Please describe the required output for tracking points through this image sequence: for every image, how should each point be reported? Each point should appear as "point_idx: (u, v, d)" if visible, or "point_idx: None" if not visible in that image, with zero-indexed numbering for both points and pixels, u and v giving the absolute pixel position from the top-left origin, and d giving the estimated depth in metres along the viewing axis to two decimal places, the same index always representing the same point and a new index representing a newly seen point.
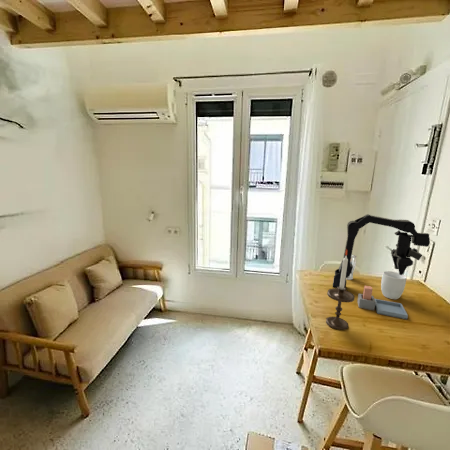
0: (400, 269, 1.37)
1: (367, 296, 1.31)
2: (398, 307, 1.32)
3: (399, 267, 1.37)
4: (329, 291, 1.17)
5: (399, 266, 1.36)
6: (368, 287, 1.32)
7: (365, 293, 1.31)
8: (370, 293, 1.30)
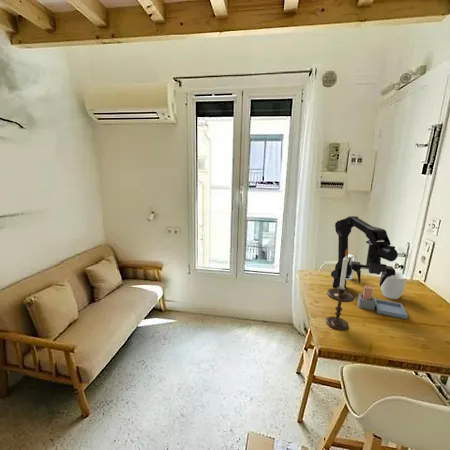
0: (357, 275, 1.34)
1: (367, 296, 1.31)
2: (398, 307, 1.32)
3: None
4: (329, 291, 1.17)
5: None
6: (368, 287, 1.32)
7: (365, 293, 1.31)
8: (370, 293, 1.30)
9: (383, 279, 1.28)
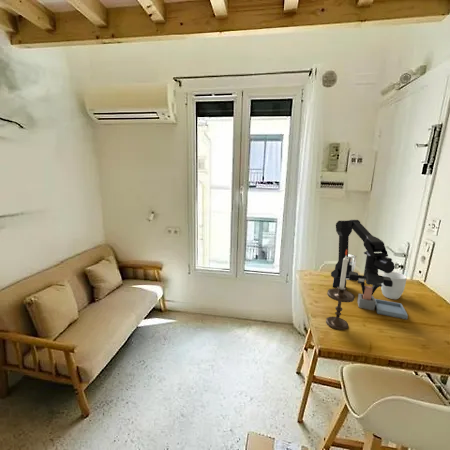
0: None
1: (367, 296, 1.31)
2: (398, 307, 1.32)
3: None
4: (329, 291, 1.17)
5: None
6: (368, 287, 1.32)
7: (365, 293, 1.31)
8: (370, 293, 1.30)
9: (374, 289, 1.30)
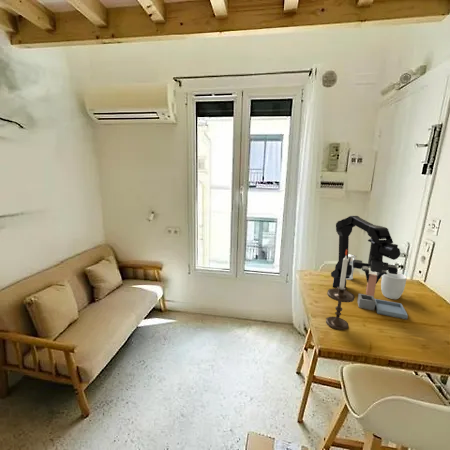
0: None
1: (371, 284, 1.29)
2: (398, 307, 1.32)
3: None
4: (329, 291, 1.17)
5: None
6: (372, 275, 1.30)
7: (369, 281, 1.29)
8: (374, 281, 1.29)
9: (378, 277, 1.28)
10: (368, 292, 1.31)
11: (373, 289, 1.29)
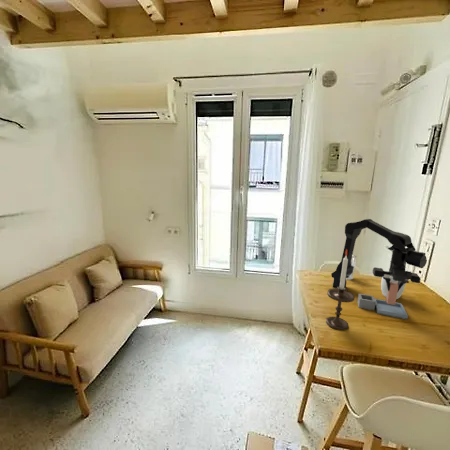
0: (386, 283, 1.29)
1: (393, 293, 1.27)
2: (398, 307, 1.32)
3: (385, 280, 1.30)
4: (329, 291, 1.17)
5: (385, 279, 1.30)
6: (394, 283, 1.27)
7: (391, 290, 1.27)
8: (396, 290, 1.26)
9: (400, 285, 1.25)
10: (389, 301, 1.28)
11: (394, 298, 1.27)
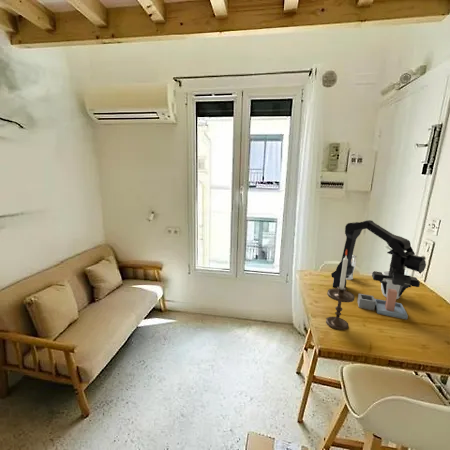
0: (383, 286, 1.30)
1: (391, 299, 1.27)
2: (398, 307, 1.32)
3: (382, 283, 1.31)
4: (329, 291, 1.17)
5: None
6: (392, 290, 1.28)
7: (389, 296, 1.27)
8: (395, 296, 1.27)
9: (402, 290, 1.25)
10: (388, 307, 1.29)
11: (393, 305, 1.28)
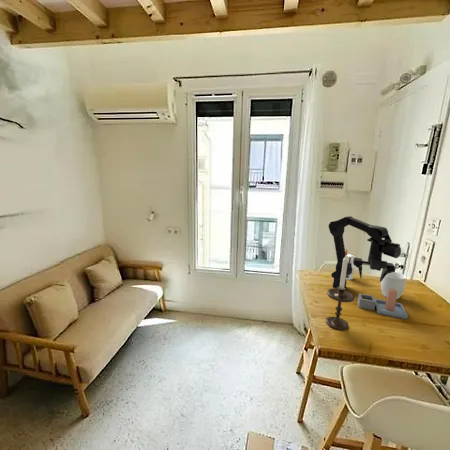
0: None
1: (391, 299, 1.27)
2: (398, 307, 1.32)
3: None
4: (329, 291, 1.17)
5: None
6: (392, 290, 1.28)
7: (389, 296, 1.27)
8: (395, 296, 1.27)
9: (383, 275, 1.34)
10: (388, 307, 1.29)
11: (393, 305, 1.28)
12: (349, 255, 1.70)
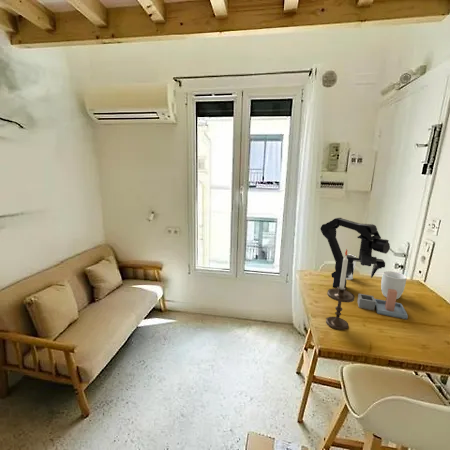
0: None
1: (391, 299, 1.27)
2: (398, 307, 1.32)
3: None
4: (329, 291, 1.17)
5: None
6: (392, 290, 1.28)
7: (389, 296, 1.27)
8: (395, 296, 1.27)
9: (374, 271, 1.38)
10: (388, 307, 1.29)
11: (393, 305, 1.28)
12: None
